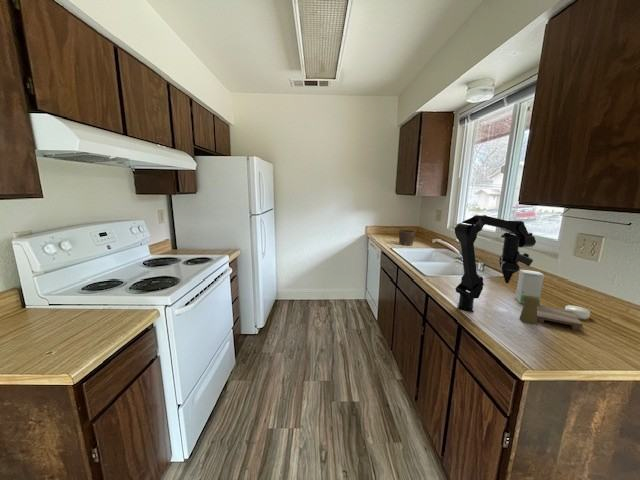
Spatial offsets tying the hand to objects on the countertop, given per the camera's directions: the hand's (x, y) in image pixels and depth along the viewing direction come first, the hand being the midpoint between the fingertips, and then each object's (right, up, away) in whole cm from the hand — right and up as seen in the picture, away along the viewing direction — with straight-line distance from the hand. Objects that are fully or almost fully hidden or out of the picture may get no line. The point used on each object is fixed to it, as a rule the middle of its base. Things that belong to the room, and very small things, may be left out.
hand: (506, 280), depth 123 cm
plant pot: (-2, +12, +139) cm, 140 cm away
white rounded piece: (+27, -15, -6) cm, 32 cm away
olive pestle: (+1, -16, -12) cm, 20 cm away
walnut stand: (+13, -15, -11) cm, 23 cm away
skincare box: (+16, -12, +8) cm, 21 cm away
